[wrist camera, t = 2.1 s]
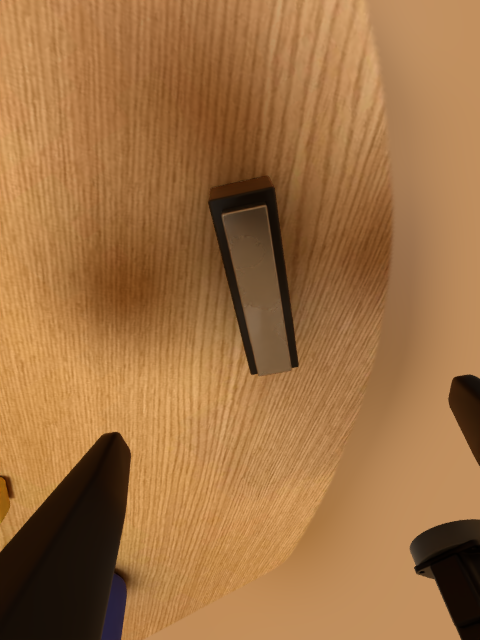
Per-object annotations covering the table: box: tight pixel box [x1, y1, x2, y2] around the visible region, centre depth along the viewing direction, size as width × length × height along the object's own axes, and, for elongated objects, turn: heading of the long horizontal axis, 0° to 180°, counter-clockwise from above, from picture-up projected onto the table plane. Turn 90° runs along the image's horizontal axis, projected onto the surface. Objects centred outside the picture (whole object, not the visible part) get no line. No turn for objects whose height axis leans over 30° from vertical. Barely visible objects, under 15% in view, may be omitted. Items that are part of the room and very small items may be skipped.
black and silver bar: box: [208, 176, 299, 376], centre depth 15 cm, size 9×2×3 cm, turn 11°
